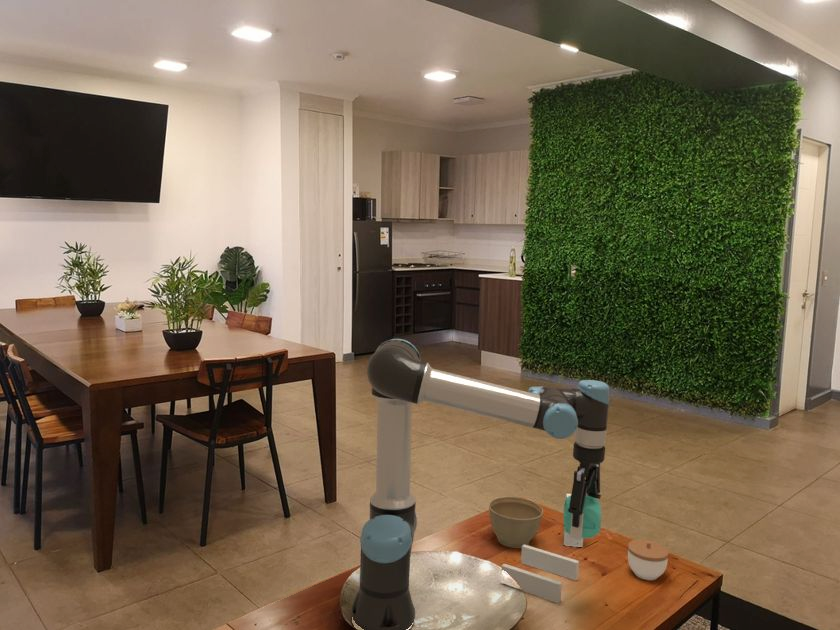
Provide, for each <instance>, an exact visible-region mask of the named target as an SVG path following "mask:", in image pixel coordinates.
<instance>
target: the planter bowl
mask: <svg viewBox="0 0 840 630" xmlns="http://www.w3.org/2000/svg"><path fill="white" fill-rule="evenodd" d="M488 509H489V513H488V514H489V521H490V525H491V527H492V529H493V532H494V534H495V535H496V538H497V540H498V541H497V542H499V544H501V545H502V546H504V547H508V548H511V549H512V548H513V549H522V546H523V545H524V544H525V545H528V546H529V544H530V541H531V540H532V539H534V537H535V536H536V534H537V533H538V531H539V529H540V525H541V524H542V517H543V514H544V510H543V507H542V506H540V505H539V503H536V502H535V501H533V500H531V499H527V498H525V497H524V498H523V497H519V496H518V497H517V496H500V497H497V498H494V499H492V500H491V501H490V502H489V503H488Z"/></svg>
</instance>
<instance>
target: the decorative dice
mask: <svg viewBox="0 0 840 630" xmlns="http://www.w3.org/2000/svg"><path fill="white" fill-rule="evenodd" d="M570 500H571V495H570V496H568V497H567V498H566V497H565V499H564V504H563V530H564V529H565V531H566V532H567V533H569V534H570V528H571V515H572V513H569V512H568V509H569V506H570ZM583 514H584V516H583V528H582V538H583V539H592V538H594V537H596V536H597V535H598V534H599V533H600V531H601V525H602V507H601V504H600V500H598V498H596V499H595V498H594V497H591V496H588V495H587V494H586V498H585V503H584V507H583Z"/></svg>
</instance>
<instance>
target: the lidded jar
mask: <svg viewBox="0 0 840 630" xmlns="http://www.w3.org/2000/svg"><path fill="white" fill-rule="evenodd" d="M669 556H670V551H669V549H668V548H667V547H666V546H664V545H662V544H661V543H660V542H659V543H658V542H656V541H652V540H649V539H634V540H631V541H629V543H627V562H628V564H629V567H630V569H631V570H632V572H633V573H634V575H635V576H636V577H638V579H642V580H644V581H656V580H657V579H658V578H659V577H661V576H662V575H663V574H664V573H665V571H666V569H667V565H668V562H669V561H668V560H669Z"/></svg>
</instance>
